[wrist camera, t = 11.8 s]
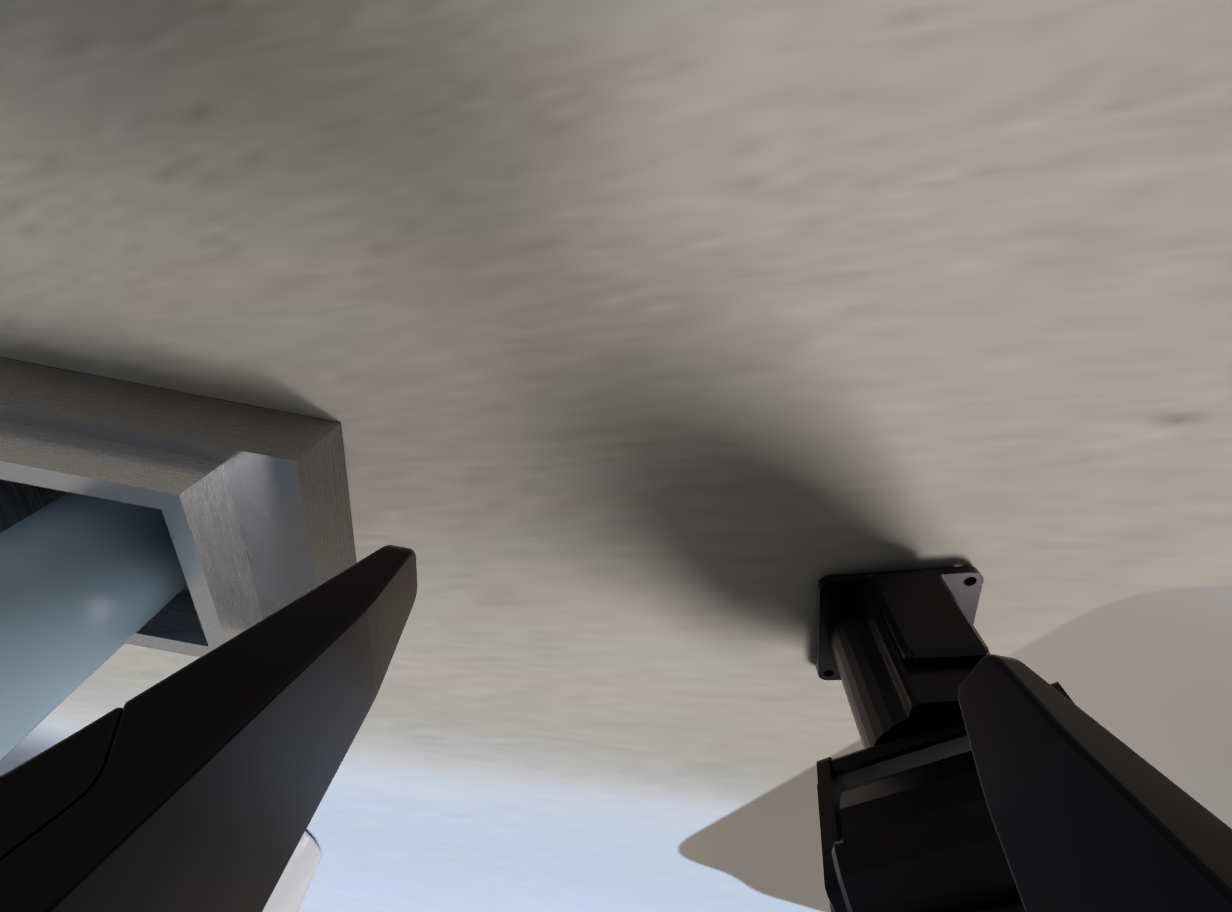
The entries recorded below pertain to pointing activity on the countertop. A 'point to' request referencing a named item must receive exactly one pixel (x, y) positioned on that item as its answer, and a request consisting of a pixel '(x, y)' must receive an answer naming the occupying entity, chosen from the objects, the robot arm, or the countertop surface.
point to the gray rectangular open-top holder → (186, 489)
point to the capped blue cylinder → (75, 598)
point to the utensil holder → (295, 877)
